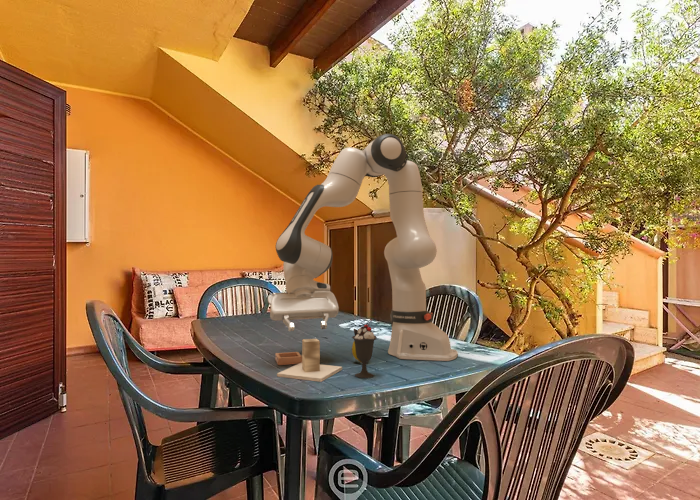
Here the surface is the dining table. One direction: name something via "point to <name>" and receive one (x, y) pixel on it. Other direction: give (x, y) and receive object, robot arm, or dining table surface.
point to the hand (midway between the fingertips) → (308, 328)
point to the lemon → (354, 352)
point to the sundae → (364, 348)
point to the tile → (310, 373)
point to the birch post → (310, 355)
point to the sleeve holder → (288, 358)
